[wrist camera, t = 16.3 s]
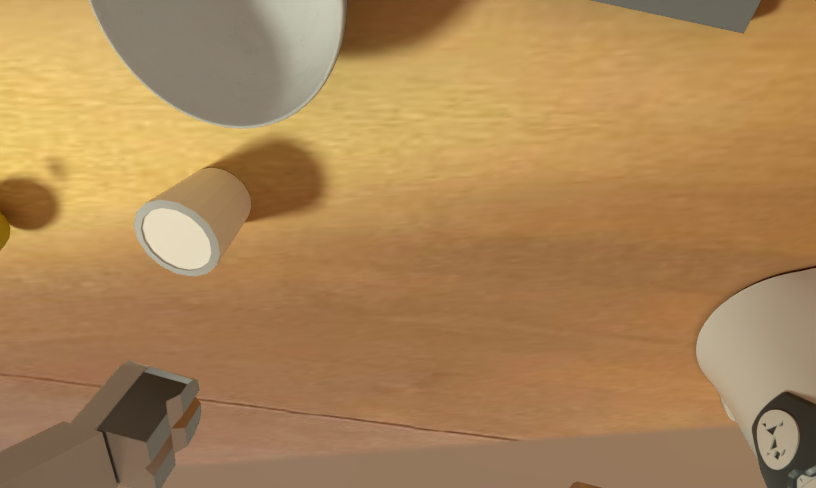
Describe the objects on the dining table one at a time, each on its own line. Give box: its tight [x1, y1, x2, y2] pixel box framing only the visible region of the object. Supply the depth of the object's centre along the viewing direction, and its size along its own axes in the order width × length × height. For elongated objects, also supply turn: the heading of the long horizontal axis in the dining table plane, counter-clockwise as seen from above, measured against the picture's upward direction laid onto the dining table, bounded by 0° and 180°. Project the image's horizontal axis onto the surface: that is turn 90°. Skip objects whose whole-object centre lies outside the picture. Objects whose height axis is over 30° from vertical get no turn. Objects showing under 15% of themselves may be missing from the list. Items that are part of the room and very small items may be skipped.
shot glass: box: [134, 167, 252, 276], centre depth 42 cm, size 7×7×7 cm
